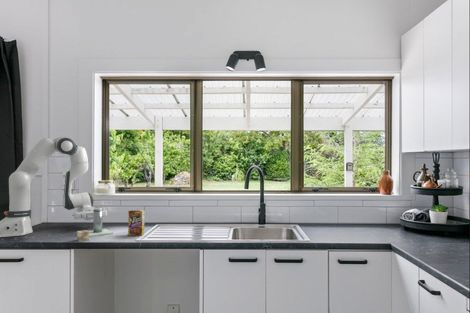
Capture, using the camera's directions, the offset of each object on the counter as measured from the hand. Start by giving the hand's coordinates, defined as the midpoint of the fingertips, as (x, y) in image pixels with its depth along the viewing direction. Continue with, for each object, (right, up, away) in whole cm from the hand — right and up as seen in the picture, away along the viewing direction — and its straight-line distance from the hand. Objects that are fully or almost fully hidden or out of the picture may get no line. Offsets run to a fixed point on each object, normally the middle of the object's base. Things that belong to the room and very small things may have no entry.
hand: (94, 215), depth 212 cm
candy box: (+30, -10, -11) cm, 34 cm away
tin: (+5, -9, -7) cm, 12 cm away
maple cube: (+4, -10, -24) cm, 26 cm away
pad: (+5, -10, -7) cm, 13 cm away
